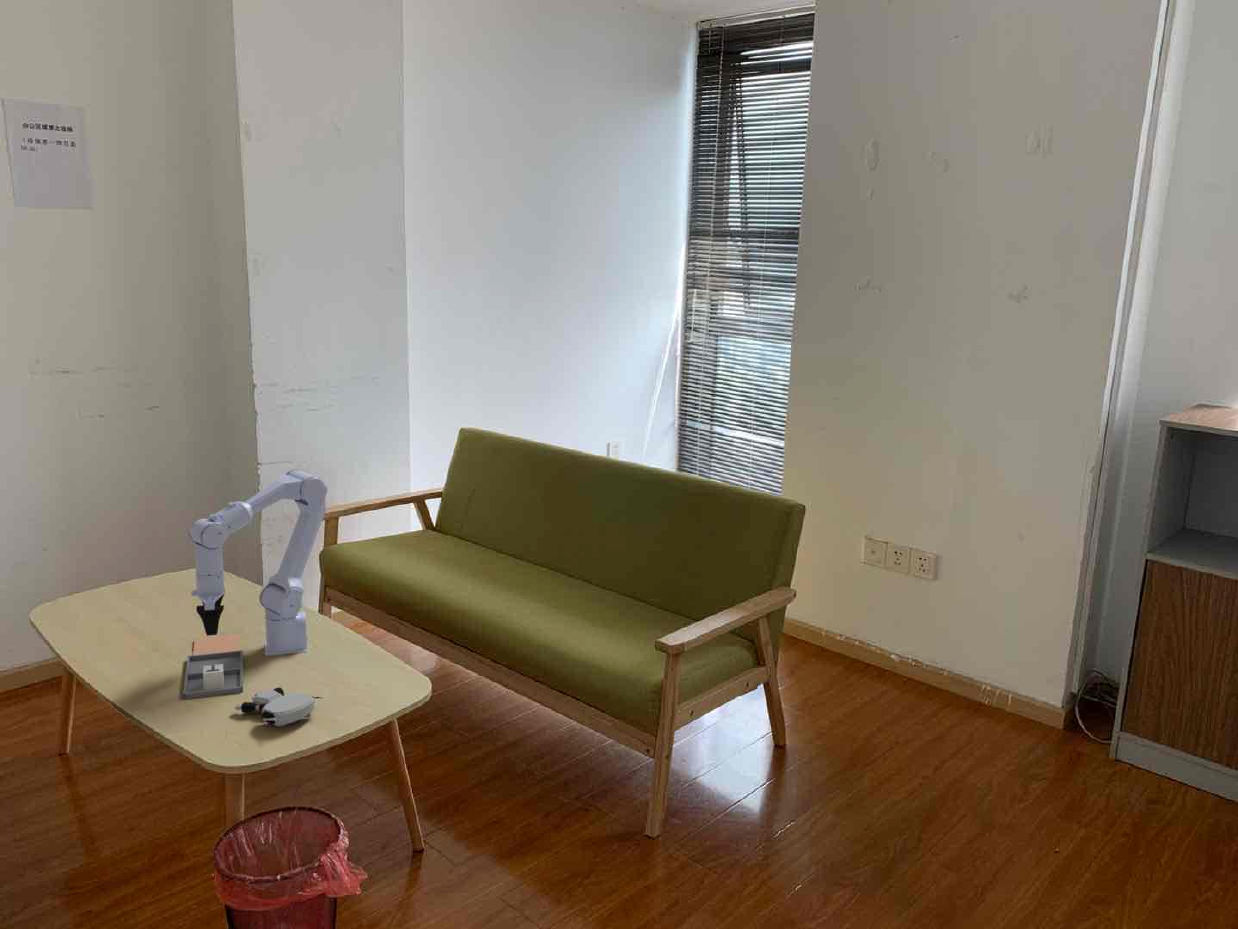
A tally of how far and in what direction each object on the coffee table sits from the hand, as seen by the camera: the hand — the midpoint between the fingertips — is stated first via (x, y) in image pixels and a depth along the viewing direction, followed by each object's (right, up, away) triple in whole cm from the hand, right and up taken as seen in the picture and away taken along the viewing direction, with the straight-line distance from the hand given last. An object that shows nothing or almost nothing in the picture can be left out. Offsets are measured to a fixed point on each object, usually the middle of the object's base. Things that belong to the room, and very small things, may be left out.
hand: (212, 628), depth 216 cm
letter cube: (+3, -12, -6) cm, 13 cm away
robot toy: (+21, -16, -16) cm, 31 cm away
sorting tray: (+1, -11, -1) cm, 11 cm away
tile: (-5, -7, +14) cm, 17 cm away
